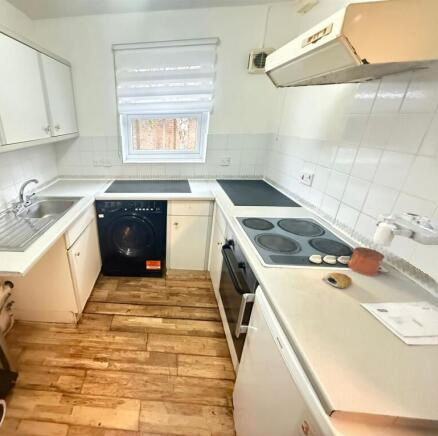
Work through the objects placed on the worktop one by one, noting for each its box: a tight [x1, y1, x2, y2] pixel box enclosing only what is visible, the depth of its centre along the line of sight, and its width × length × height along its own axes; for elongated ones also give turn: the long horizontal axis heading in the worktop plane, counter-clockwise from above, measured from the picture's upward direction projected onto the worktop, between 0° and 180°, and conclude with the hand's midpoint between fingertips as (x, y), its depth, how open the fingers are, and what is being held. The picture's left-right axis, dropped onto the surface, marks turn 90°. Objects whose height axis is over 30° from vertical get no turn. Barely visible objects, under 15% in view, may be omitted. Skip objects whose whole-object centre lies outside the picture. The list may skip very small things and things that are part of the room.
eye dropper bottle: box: [372, 213, 397, 247], centre depth 89 cm, size 4×6×12 cm
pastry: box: [323, 272, 352, 289], centre depth 93 cm, size 9×7×4 cm
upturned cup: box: [347, 246, 385, 277], centre depth 100 cm, size 10×10×8 cm
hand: (384, 227), depth 89 cm, fingers closed on eye dropper bottle, 5 cm apart
